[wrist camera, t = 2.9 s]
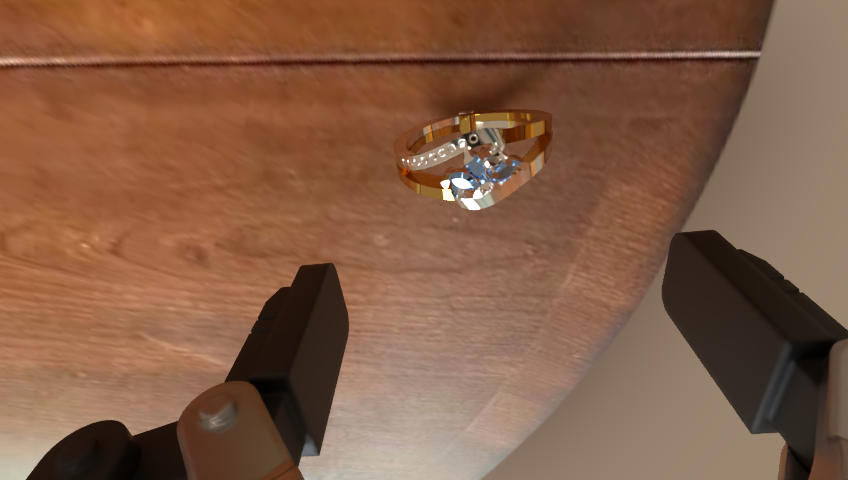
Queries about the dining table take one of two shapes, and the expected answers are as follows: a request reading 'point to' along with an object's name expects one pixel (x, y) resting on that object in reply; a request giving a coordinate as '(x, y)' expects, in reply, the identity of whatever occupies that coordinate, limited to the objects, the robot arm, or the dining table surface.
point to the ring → (475, 155)
